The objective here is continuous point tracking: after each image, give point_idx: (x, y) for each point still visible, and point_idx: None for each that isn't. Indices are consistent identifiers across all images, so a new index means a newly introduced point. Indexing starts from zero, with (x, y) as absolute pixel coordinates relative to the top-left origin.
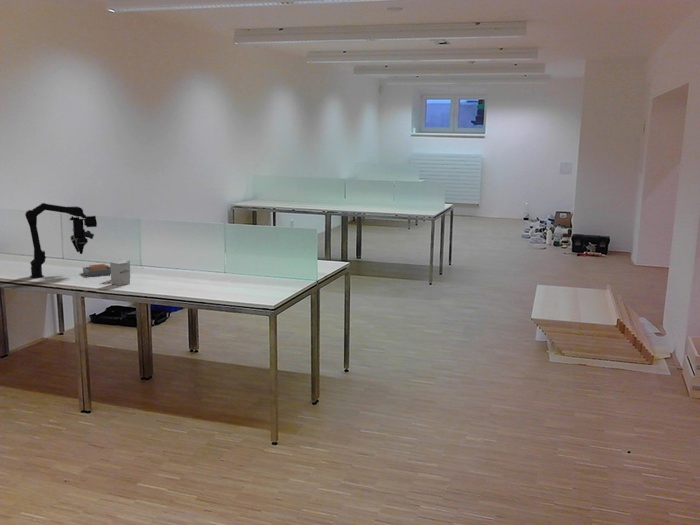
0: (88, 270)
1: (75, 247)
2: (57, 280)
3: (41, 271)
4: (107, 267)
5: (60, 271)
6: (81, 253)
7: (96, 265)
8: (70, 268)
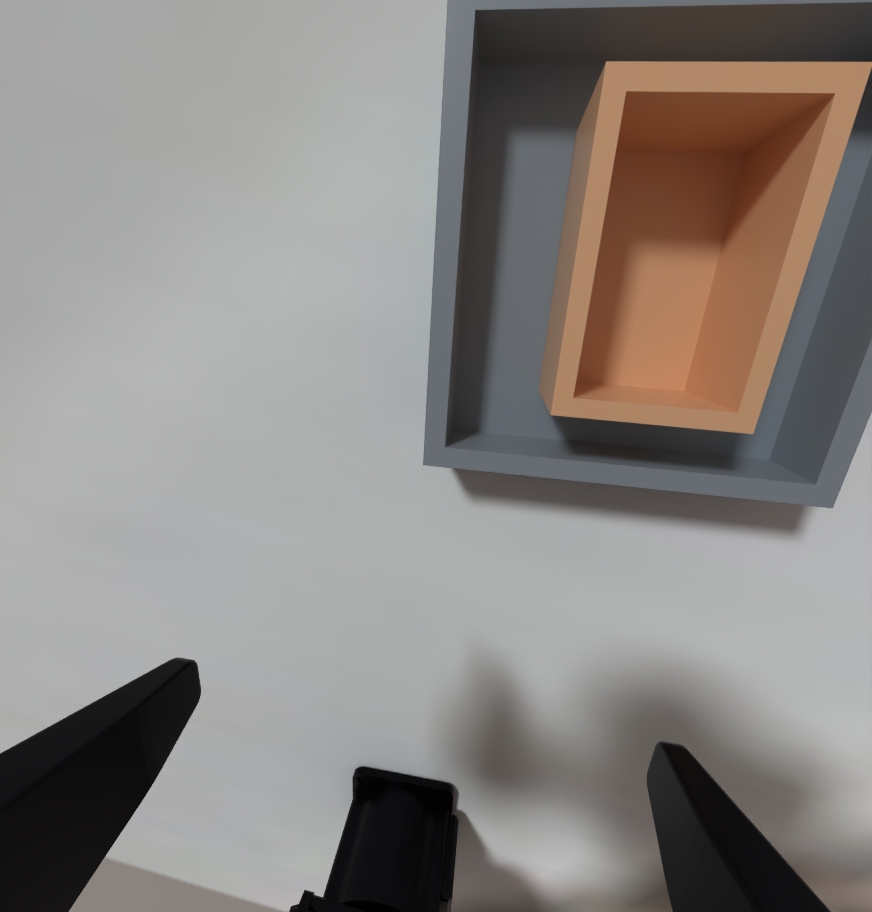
0: (775, 487)
1: (69, 896)
2: (713, 768)
3: (417, 846)
4: (549, 27)
5: (206, 590)
6: (686, 777)
7: (591, 276)
8: (55, 458)
